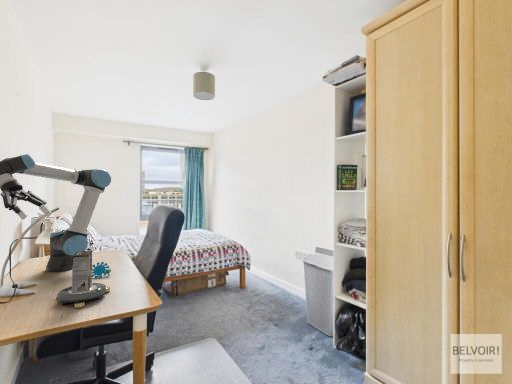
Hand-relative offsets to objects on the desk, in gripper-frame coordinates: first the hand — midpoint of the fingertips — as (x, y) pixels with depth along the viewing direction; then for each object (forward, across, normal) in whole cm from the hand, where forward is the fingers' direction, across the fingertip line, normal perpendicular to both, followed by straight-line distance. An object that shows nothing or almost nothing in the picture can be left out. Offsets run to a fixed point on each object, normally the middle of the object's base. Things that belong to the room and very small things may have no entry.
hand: (38, 216), depth 129 cm
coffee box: (+42, +8, -2) cm, 43 cm away
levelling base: (+45, +8, -6) cm, 46 cm away
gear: (+37, -23, -14) cm, 46 cm away
